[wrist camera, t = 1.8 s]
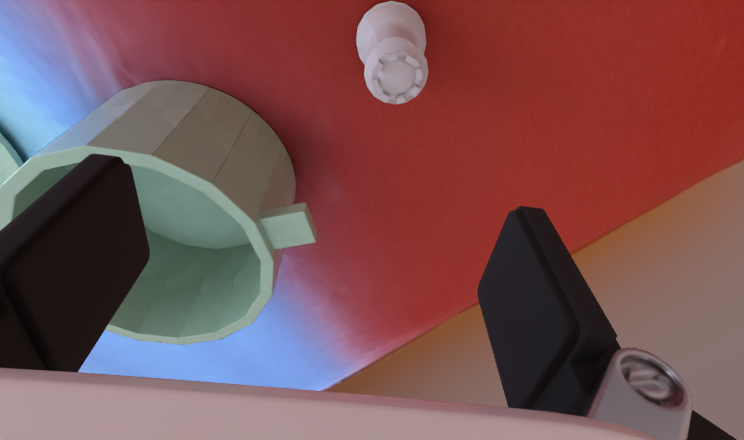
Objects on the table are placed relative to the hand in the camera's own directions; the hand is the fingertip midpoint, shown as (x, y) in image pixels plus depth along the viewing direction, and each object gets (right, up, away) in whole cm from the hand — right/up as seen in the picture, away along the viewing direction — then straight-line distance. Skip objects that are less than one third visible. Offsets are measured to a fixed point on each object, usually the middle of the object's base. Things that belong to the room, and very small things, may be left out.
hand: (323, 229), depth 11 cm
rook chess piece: (+2, +12, +16) cm, 21 cm away
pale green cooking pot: (-13, +4, +23) cm, 26 cm away
